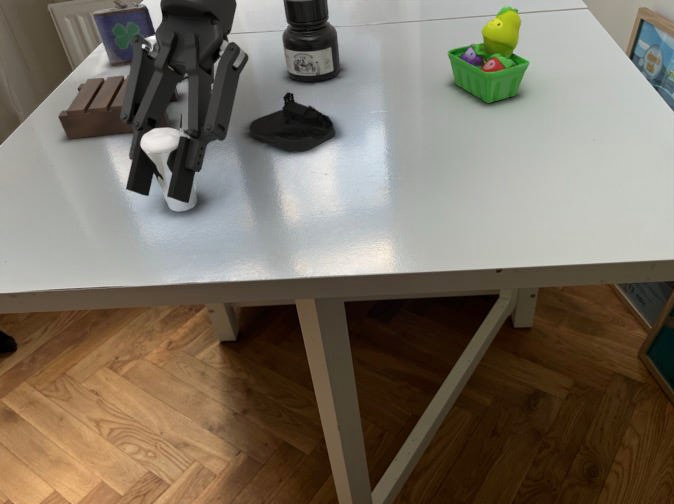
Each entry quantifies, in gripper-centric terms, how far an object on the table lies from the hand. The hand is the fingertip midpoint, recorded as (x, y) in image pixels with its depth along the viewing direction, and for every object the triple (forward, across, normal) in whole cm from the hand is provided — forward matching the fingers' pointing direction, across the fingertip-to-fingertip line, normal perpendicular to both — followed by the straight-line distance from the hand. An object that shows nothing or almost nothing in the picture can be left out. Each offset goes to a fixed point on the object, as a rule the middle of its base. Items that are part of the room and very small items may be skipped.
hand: (157, 195), depth 60 cm
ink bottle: (-29, -2, +34) cm, 45 cm away
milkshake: (0, 0, +5) cm, 5 cm away
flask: (-28, -38, +33) cm, 57 cm away
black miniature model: (-14, +4, +19) cm, 25 cm away
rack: (-13, -23, +18) cm, 32 cm away
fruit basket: (-29, +27, +34) cm, 52 cm away
